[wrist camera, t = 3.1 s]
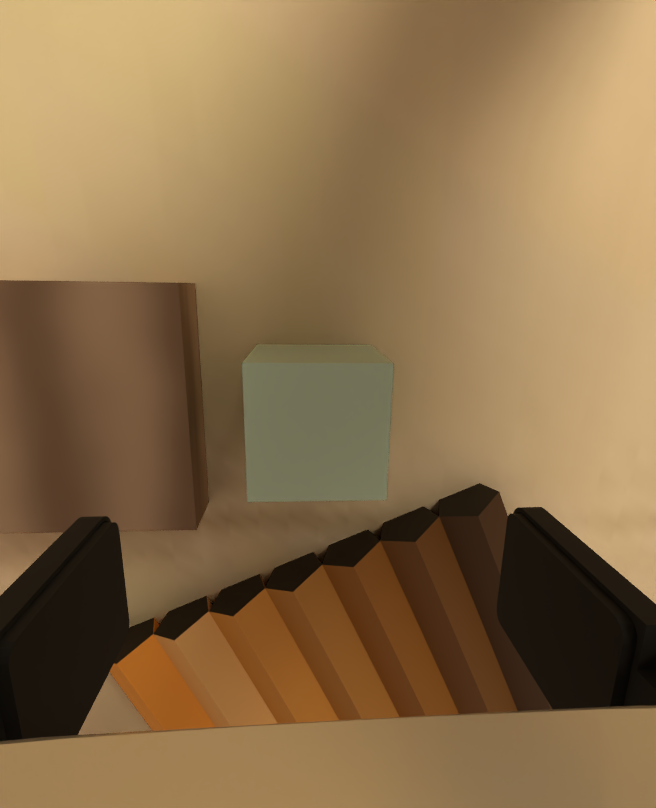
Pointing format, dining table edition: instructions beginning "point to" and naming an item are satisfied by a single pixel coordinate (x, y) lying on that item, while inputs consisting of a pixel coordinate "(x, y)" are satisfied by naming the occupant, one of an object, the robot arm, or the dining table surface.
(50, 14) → the dining table surface
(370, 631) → the pan flute
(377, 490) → the sage cube
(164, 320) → the walnut stand
